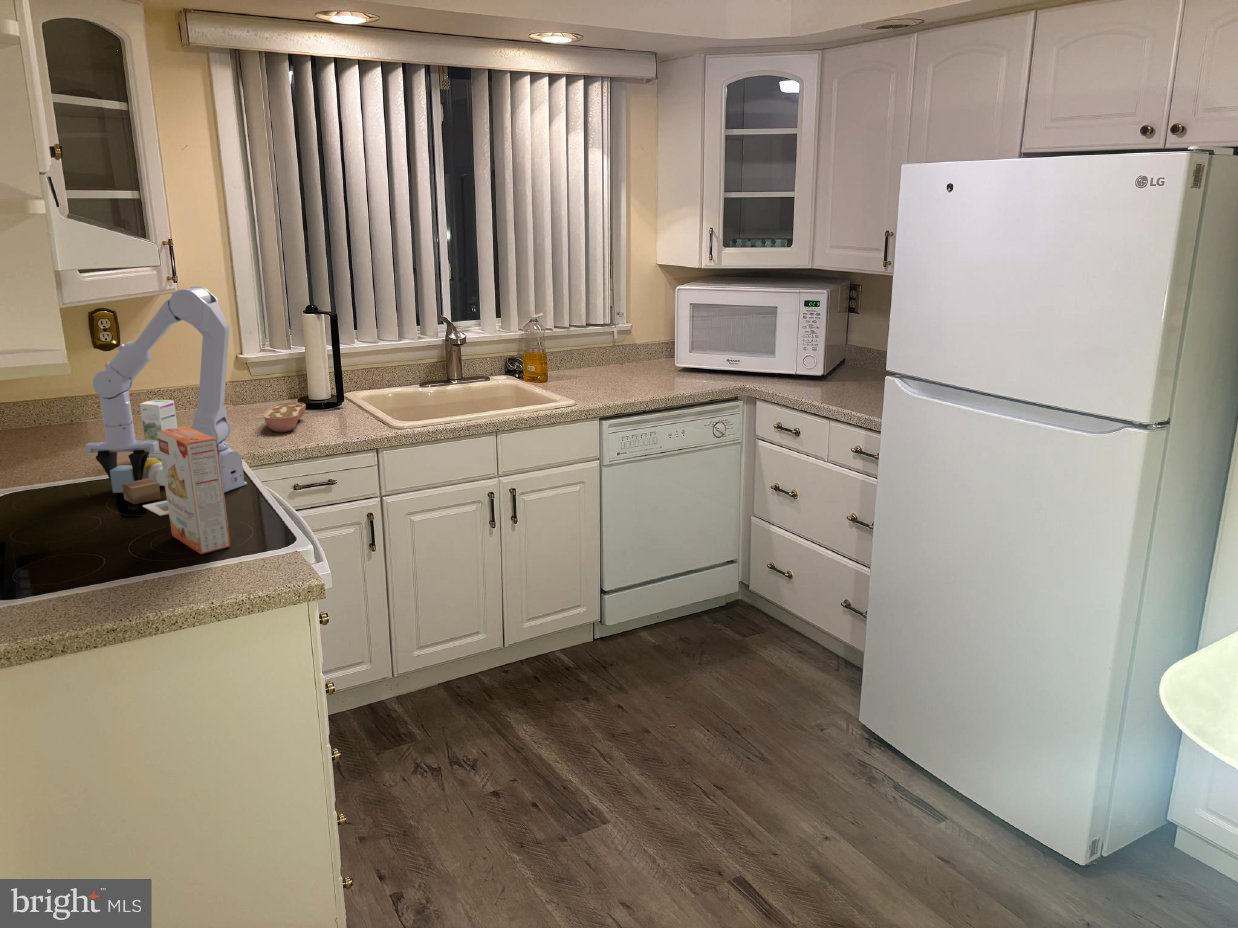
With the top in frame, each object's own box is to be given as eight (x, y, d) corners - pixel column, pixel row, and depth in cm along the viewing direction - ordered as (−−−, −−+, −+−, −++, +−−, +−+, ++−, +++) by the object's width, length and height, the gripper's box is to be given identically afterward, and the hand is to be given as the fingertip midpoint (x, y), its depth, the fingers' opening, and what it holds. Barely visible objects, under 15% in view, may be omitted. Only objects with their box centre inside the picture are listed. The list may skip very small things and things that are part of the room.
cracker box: (169, 537, 176) (155, 430, 171) (202, 530, 180) (188, 425, 175) (198, 556, 167) (184, 442, 161) (232, 547, 171) (218, 437, 165)
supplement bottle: (161, 456, 215) (177, 464, 209) (162, 478, 217) (178, 487, 210) (136, 458, 212) (151, 466, 205) (138, 481, 213) (153, 490, 206)
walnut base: (160, 498, 201) (158, 483, 200) (134, 504, 197) (131, 488, 196) (150, 493, 204) (148, 478, 203) (124, 499, 200) (122, 483, 199)
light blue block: (142, 486, 210) (139, 465, 209) (134, 492, 205) (130, 470, 204) (122, 486, 210) (118, 465, 208) (112, 492, 205) (109, 470, 204)
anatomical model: (297, 434, 260) (295, 417, 259) (260, 436, 258) (258, 418, 257) (309, 418, 282) (307, 401, 280) (274, 419, 280) (273, 403, 279)
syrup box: (182, 455, 237) (175, 399, 233) (165, 461, 231) (158, 404, 228) (163, 454, 238) (156, 398, 235) (146, 459, 233) (138, 403, 229)
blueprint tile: (189, 509, 193) (189, 507, 193) (160, 515, 189) (159, 513, 189) (172, 500, 199) (171, 498, 199) (142, 506, 195) (142, 505, 195)
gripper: (160, 419, 208) (167, 477, 211) (92, 420, 207) (101, 479, 210) (146, 426, 201) (155, 486, 205) (77, 427, 200) (86, 487, 204)
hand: (127, 483), depth 207 cm, fingers closed on light blue block, 4 cm apart
